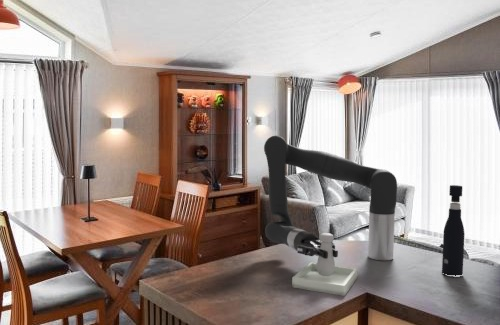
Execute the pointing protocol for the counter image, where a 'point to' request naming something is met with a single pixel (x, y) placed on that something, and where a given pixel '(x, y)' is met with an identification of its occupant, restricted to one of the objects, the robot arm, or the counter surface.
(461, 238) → the black bottle
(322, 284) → the tray
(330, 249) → the salt shaker
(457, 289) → the counter surface
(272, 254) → the counter surface
